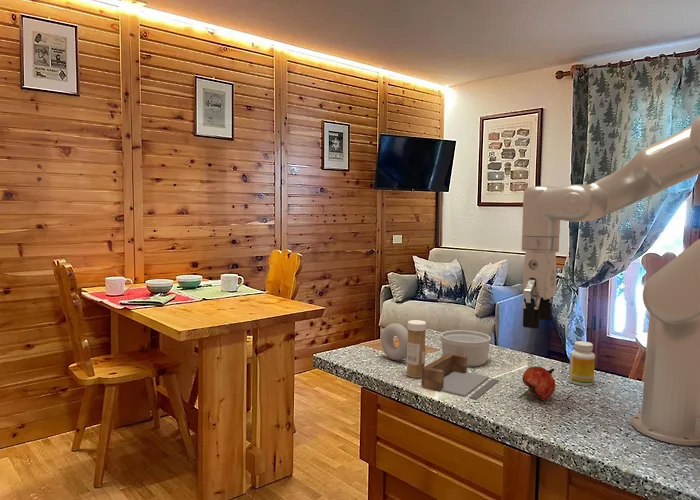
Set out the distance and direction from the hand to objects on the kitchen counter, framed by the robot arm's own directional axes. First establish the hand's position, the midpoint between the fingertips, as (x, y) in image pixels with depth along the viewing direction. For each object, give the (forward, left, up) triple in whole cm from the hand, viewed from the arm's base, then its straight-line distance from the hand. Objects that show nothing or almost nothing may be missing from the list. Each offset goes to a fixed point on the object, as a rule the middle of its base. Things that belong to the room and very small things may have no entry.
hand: (537, 323), depth 112 cm
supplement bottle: (-7, -17, -17) cm, 25 cm away
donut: (+37, -5, -17) cm, 41 cm away
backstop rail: (+20, +1, -17) cm, 26 cm away
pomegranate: (-1, 0, -17) cm, 17 cm away
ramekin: (+22, -16, -17) cm, 32 cm away
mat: (+16, +1, -17) cm, 23 cm away
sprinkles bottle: (+27, +3, -17) cm, 32 cm away
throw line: (+10, +1, -17) cm, 20 cm away
